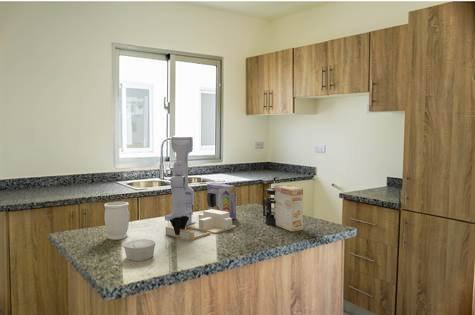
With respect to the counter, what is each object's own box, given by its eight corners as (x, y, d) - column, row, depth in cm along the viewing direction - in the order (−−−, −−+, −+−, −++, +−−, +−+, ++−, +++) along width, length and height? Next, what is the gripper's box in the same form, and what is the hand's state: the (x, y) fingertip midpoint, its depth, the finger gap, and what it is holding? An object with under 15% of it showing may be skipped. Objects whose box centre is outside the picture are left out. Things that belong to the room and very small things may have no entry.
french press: (288, 222, 194) (288, 176, 193) (278, 226, 187) (278, 178, 185) (269, 219, 202) (268, 175, 200) (258, 223, 194) (258, 177, 193)
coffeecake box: (303, 230, 181) (303, 188, 180) (290, 231, 178) (290, 189, 176) (285, 223, 195) (285, 184, 193) (273, 224, 191) (273, 185, 190)
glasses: (185, 228, 184) (185, 221, 184) (210, 234, 174) (210, 226, 174) (165, 234, 175) (165, 226, 175) (190, 240, 165) (190, 232, 164)
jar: (104, 235, 174) (103, 202, 173) (128, 233, 177) (127, 200, 176) (105, 242, 164) (104, 206, 163) (131, 239, 168) (130, 204, 166)
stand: (208, 221, 198) (208, 208, 197) (236, 227, 187) (236, 212, 186) (186, 227, 186) (186, 213, 186) (214, 234, 175) (214, 218, 174)
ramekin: (117, 258, 143) (117, 244, 143) (140, 250, 152) (140, 237, 152) (138, 264, 137) (138, 249, 137) (161, 255, 146) (161, 242, 146)
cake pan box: (206, 214, 214) (206, 182, 213) (213, 213, 217) (213, 181, 216) (229, 220, 200) (229, 186, 198) (236, 219, 203) (236, 185, 202)
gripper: (172, 206, 161) (173, 239, 162) (197, 201, 173) (197, 231, 174) (161, 204, 166) (161, 236, 167) (186, 199, 177) (186, 229, 178)
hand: (179, 233), depth 170 cm, fingers closed on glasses, 2 cm apart
